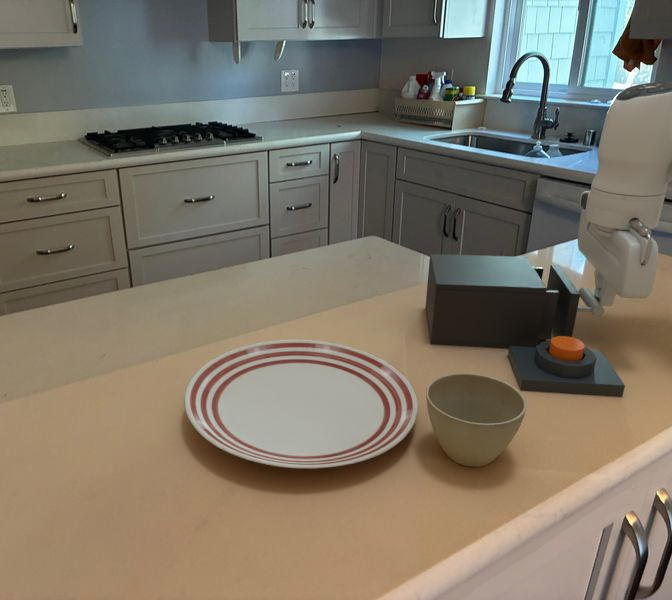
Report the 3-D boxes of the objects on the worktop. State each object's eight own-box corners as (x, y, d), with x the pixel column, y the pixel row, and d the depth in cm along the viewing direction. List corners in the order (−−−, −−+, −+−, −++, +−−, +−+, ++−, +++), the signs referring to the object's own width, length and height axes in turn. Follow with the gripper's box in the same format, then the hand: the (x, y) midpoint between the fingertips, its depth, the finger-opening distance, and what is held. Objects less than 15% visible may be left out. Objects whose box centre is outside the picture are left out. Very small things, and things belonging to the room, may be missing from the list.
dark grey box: (518, 313, 99) (527, 256, 95) (536, 350, 87) (546, 288, 83) (425, 308, 101) (430, 253, 97) (430, 344, 89) (436, 283, 86)
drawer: (579, 312, 96) (589, 265, 93) (603, 346, 86) (614, 295, 83) (462, 307, 99) (467, 261, 96) (471, 339, 89) (477, 289, 86)
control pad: (599, 361, 84) (604, 338, 83) (622, 397, 76) (628, 372, 74) (507, 356, 86) (510, 334, 84) (520, 390, 78) (524, 366, 76)
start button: (577, 348, 81) (579, 336, 80) (586, 363, 77) (588, 351, 77) (545, 346, 82) (547, 335, 81) (552, 361, 78) (555, 349, 77)
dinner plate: (375, 349, 89) (376, 328, 87) (456, 473, 64) (459, 447, 62) (183, 367, 85) (181, 346, 84) (190, 506, 60) (187, 479, 59)
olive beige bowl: (525, 440, 68) (534, 385, 66) (506, 495, 61) (516, 435, 58) (436, 416, 73) (441, 363, 70) (408, 463, 65) (413, 407, 62)
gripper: (681, 233, 74) (655, 335, 79) (622, 191, 92) (603, 277, 98) (625, 231, 75) (602, 333, 80) (577, 191, 93) (561, 275, 99)
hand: (602, 302), depth 89 cm, fingers closed, pressing on drawer
